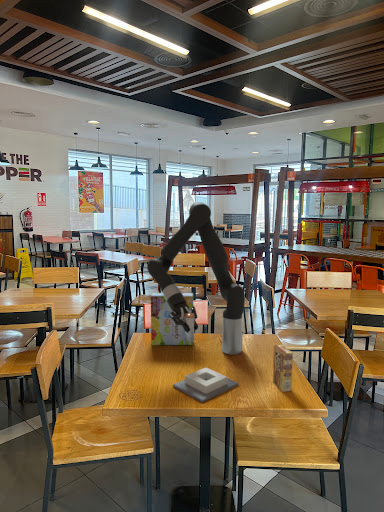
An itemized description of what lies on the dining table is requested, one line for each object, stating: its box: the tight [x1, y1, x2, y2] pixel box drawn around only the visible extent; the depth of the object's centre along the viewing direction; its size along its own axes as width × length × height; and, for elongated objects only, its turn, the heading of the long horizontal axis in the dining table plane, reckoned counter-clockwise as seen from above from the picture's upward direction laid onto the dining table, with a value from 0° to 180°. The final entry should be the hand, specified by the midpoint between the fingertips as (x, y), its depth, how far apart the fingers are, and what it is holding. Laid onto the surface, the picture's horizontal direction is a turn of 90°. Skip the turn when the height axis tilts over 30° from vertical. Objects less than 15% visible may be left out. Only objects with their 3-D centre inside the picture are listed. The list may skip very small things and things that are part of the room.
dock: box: [172, 367, 239, 404], centre depth 144 cm, size 20×16×4 cm
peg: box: [185, 313, 195, 342], centre depth 156 cm, size 4×4×11 cm
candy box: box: [272, 344, 294, 393], centre depth 144 cm, size 9×4×15 cm, turn 13°
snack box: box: [150, 292, 195, 346], centre depth 190 cm, size 22×9×26 cm, turn 89°
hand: (192, 330), depth 155 cm, fingers closed on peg, 4 cm apart
